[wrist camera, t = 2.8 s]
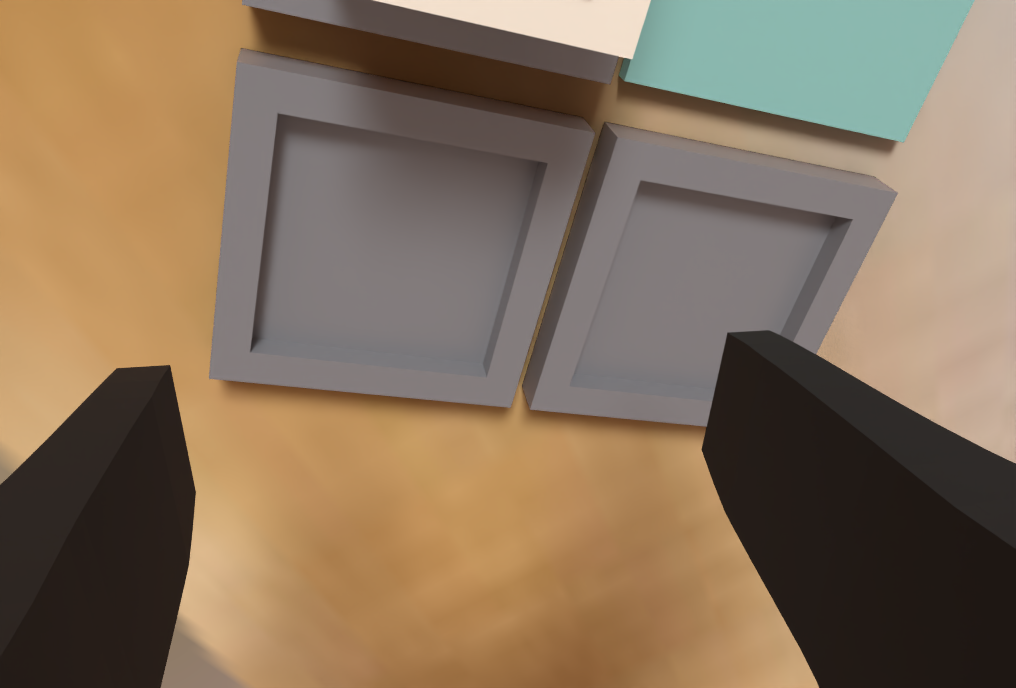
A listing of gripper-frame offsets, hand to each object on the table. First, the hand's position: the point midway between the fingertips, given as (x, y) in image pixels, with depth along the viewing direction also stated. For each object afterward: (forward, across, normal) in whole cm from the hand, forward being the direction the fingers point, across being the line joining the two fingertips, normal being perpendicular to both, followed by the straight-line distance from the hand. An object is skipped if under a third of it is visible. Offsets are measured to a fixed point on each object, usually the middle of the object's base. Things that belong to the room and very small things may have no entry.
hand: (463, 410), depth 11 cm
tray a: (+8, -7, +3) cm, 11 cm away
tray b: (+8, 0, +2) cm, 9 cm away
